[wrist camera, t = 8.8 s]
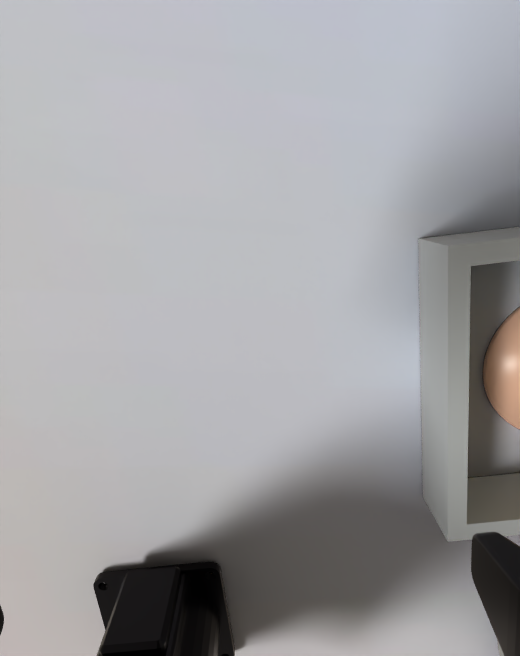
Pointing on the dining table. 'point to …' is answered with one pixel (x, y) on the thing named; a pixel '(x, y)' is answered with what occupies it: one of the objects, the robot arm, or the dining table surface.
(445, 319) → the corral
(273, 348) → the dining table surface
